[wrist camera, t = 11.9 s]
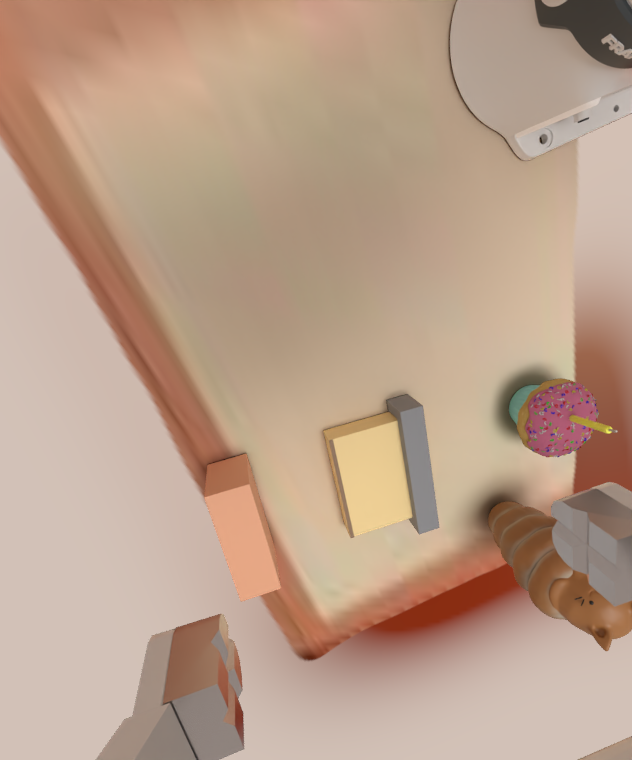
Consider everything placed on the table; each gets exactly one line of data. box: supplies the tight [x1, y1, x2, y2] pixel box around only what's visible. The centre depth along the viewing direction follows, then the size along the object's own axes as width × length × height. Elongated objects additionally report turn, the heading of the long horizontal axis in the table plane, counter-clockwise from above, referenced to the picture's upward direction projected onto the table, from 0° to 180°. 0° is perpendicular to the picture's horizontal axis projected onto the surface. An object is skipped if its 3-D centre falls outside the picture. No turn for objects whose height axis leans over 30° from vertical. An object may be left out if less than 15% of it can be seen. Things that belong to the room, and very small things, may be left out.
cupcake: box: [509, 379, 617, 457], centre depth 41 cm, size 9×8×12 cm
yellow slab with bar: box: [324, 394, 439, 538], centre depth 43 cm, size 10×15×4 cm
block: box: [204, 454, 281, 601], centre depth 40 cm, size 4×12×6 cm, turn 12°
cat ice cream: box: [488, 501, 632, 651], centre depth 42 cm, size 9×8×18 cm
